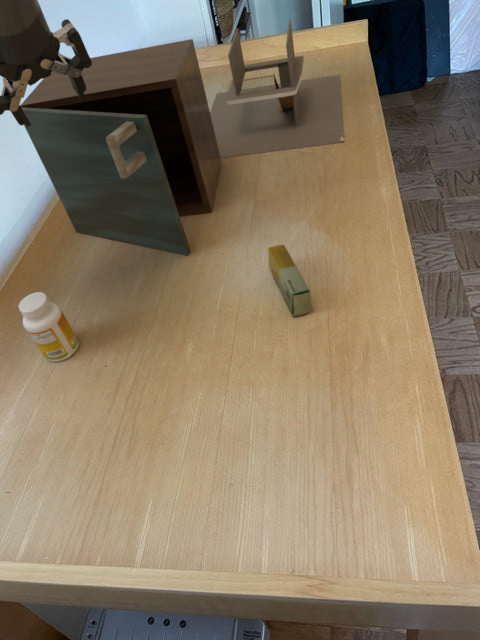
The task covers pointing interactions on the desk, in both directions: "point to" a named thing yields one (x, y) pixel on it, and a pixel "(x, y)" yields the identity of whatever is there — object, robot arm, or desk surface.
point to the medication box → (289, 280)
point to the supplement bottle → (48, 327)
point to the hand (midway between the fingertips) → (53, 107)
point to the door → (108, 176)
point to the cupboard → (152, 112)
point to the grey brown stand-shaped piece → (276, 107)
